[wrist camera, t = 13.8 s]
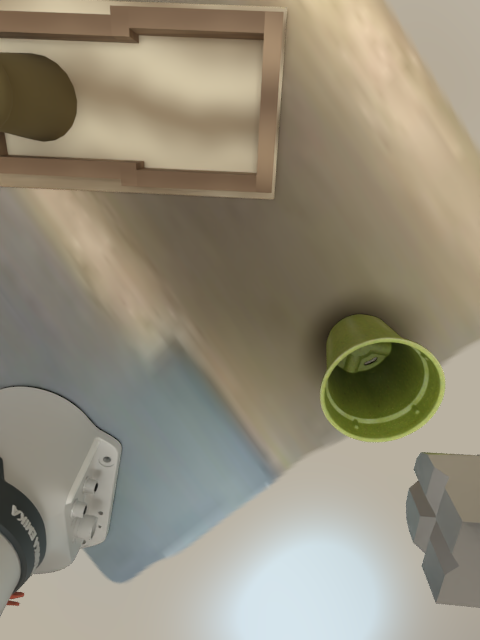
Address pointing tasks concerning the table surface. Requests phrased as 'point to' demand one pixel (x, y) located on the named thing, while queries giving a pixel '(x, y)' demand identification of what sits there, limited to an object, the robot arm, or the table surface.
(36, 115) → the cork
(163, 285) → the table surface
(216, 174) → the wooden tray
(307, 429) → the table surface
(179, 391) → the table surface
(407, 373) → the plant pot
